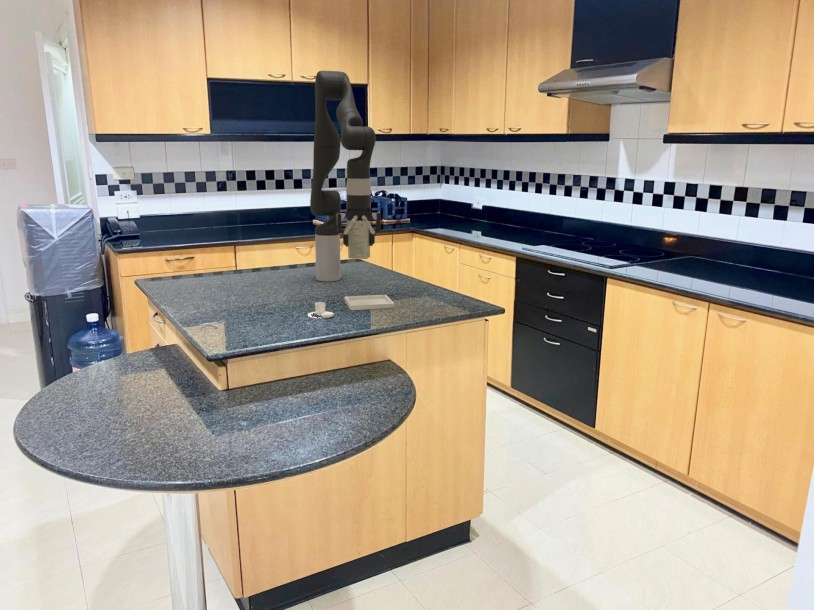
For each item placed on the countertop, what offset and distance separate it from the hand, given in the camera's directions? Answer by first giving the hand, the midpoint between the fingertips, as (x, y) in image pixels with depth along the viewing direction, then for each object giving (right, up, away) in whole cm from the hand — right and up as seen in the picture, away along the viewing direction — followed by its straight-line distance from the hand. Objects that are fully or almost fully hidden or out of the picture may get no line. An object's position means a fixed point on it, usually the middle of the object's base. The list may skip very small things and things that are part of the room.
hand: (358, 245), depth 203 cm
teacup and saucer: (-12, -23, -11) cm, 28 cm away
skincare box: (0, -4, +1) cm, 4 cm away
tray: (+3, -19, +5) cm, 19 cm away
